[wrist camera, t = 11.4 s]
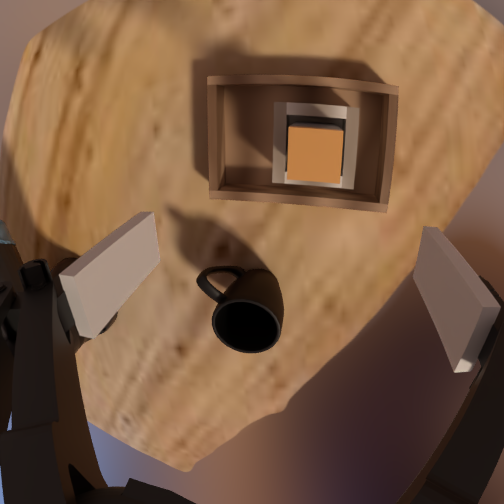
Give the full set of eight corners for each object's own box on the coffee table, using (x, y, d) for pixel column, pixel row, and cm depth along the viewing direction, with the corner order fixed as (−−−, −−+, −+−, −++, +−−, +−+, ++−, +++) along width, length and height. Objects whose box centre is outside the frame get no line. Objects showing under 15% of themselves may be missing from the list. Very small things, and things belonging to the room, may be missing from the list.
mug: (242, 226, 42) (222, 260, 33) (300, 291, 44) (295, 335, 36) (200, 261, 45) (174, 298, 37) (257, 318, 48) (244, 362, 39)
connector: (295, 157, 34) (286, 179, 24) (296, 120, 32) (288, 127, 22) (332, 160, 33) (339, 183, 23) (334, 123, 31) (343, 131, 21)
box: (219, 189, 40) (200, 206, 34) (218, 78, 34) (197, 74, 28) (380, 202, 37) (392, 222, 30) (390, 88, 30) (406, 84, 24)
